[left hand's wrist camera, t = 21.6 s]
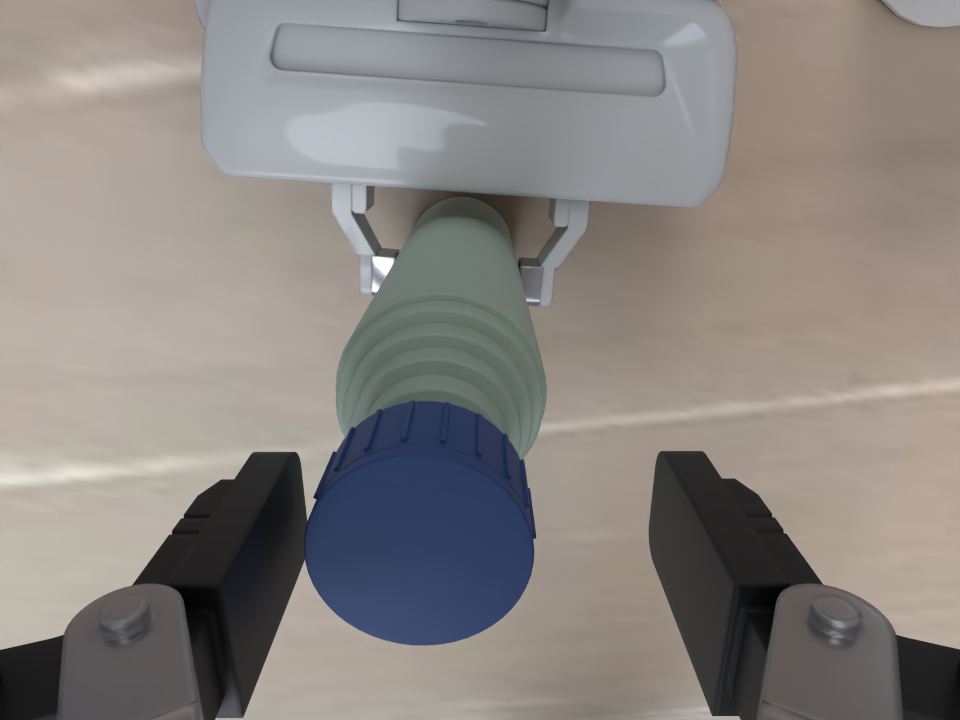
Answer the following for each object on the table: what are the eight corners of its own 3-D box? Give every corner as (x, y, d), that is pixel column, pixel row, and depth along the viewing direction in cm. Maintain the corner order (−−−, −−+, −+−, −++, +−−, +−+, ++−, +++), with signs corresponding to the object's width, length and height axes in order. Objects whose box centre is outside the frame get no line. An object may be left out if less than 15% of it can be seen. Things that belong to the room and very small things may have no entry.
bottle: (439, 313, 36) (362, 695, 12) (392, 224, 34) (199, 471, 11) (528, 270, 35) (627, 593, 11) (484, 178, 33) (496, 334, 10)
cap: (438, 355, 11) (429, 403, 10) (569, 500, 12) (585, 568, 11) (285, 477, 12) (250, 543, 10) (421, 603, 13) (410, 683, 11)
